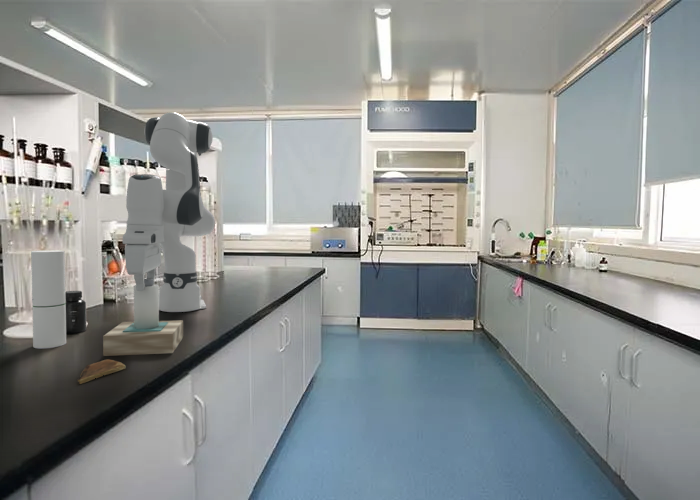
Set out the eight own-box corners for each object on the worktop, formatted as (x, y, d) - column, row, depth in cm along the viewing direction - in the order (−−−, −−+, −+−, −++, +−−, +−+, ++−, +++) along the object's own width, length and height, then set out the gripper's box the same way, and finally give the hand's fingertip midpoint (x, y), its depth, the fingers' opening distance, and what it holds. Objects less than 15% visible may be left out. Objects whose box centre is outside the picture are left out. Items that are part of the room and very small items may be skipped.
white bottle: (137, 324, 113) (137, 278, 112) (161, 323, 114) (160, 278, 113) (130, 329, 107) (130, 281, 106) (155, 328, 108) (155, 281, 108)
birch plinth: (122, 339, 116) (122, 320, 116) (183, 337, 120) (183, 319, 119) (103, 356, 102) (103, 334, 101) (172, 353, 105) (172, 332, 105)
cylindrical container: (63, 339, 115) (61, 250, 114) (68, 345, 110) (67, 251, 109) (31, 344, 110) (29, 250, 109) (35, 350, 105) (33, 252, 104)
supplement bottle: (56, 335, 119) (55, 294, 119) (61, 329, 125) (61, 290, 125) (84, 333, 122) (83, 293, 121) (88, 327, 128) (87, 289, 128)
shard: (77, 387, 83) (77, 378, 83) (55, 380, 87) (55, 372, 87) (127, 370, 93) (126, 363, 93) (105, 365, 96) (105, 357, 96)
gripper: (143, 233, 119) (143, 281, 119) (119, 237, 99) (120, 294, 100) (166, 234, 120) (166, 281, 121) (148, 237, 100) (148, 294, 101)
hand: (145, 287), depth 110 cm, fingers open, 8 cm apart
